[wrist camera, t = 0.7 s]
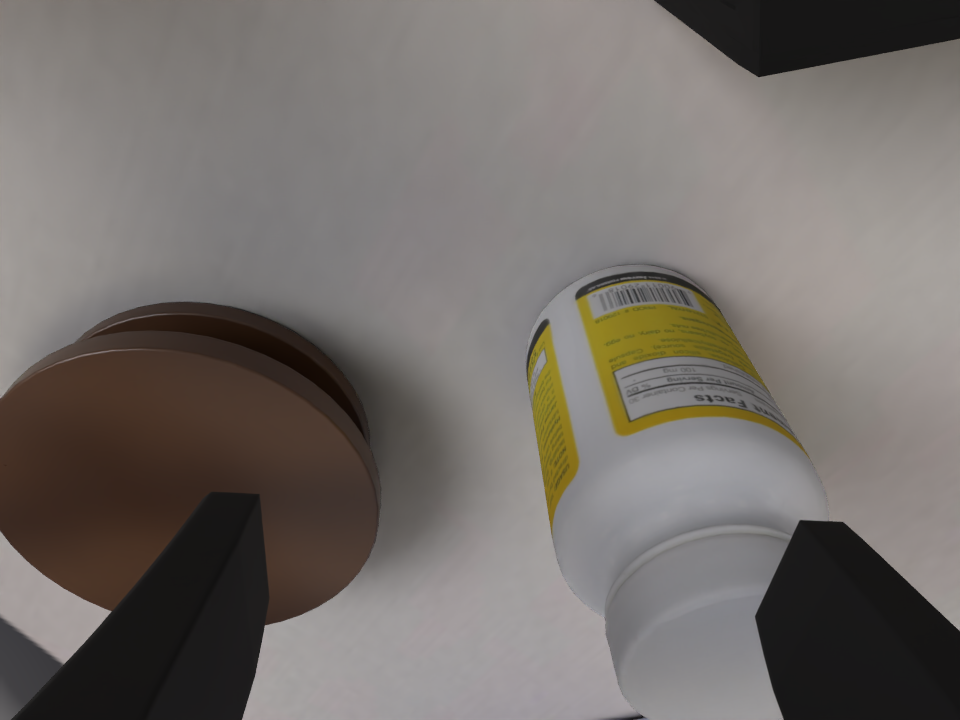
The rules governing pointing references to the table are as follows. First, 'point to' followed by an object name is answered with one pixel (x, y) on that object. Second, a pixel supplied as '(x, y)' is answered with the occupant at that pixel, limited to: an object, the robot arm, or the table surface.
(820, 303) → the table surface
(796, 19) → the digital camera
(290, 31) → the table surface
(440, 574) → the table surface
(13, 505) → the stand
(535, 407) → the supplement bottle
